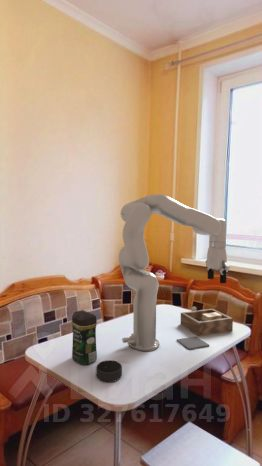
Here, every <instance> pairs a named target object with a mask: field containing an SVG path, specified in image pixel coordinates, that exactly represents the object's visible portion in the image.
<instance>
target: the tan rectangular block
mask: <svg viewBox="0 0 262 466" xmlns="http://www.w3.org/2000/svg"><path fill="white" fill-rule="evenodd" d="M215 319H222V315H221V314H219V313H217V312H213V313H206V314H202V320H203V321H208V320H215Z"/></svg>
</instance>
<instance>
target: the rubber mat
mask: <svg viewBox="0 0 262 466" xmlns="http://www.w3.org/2000/svg"><path fill="white" fill-rule="evenodd" d="M176 342H178V343H179V344H180V345H182V346H183V347H184V348H185V349H187V350H188V351H191V350H196V348H197V349H201V348H202V349H203V348H207V347H210V344H209V343H207V342H206V341H205V340H203V339H201V338H199V336H198V335H195V336H190V337H184V338H182V337H181V338H178V339H176Z"/></svg>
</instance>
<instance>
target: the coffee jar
mask: <svg viewBox="0 0 262 466" xmlns="http://www.w3.org/2000/svg"><path fill="white" fill-rule="evenodd" d="M71 316H72V317H71V326H72V345H71V346H72V348H71V351H72V352H71V355H72V359H73V360H74V361H75V362H77V364H79V363H80V365H82V364H84V365H91V364H93V363H94V362H95V361H97V358H98V353H97V324H98V321H97V315H96V314H93V313H91V312H89V311H86V310H84V309H81V310H77V311H74V312H73V314H72V315H71ZM90 363H91V364H90Z"/></svg>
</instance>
